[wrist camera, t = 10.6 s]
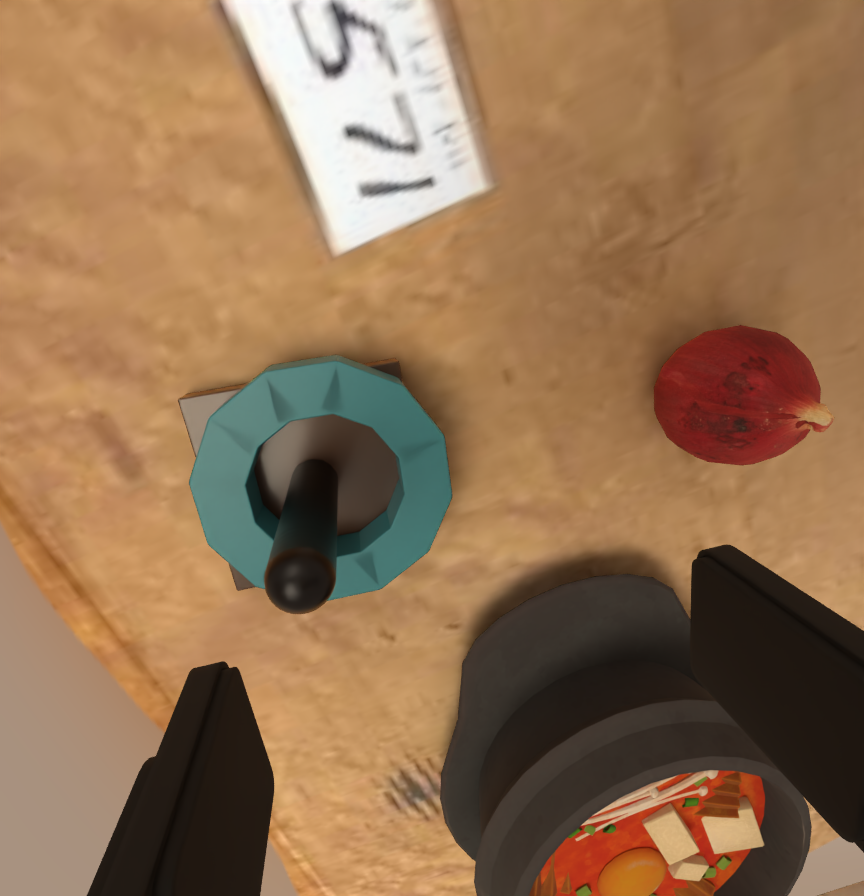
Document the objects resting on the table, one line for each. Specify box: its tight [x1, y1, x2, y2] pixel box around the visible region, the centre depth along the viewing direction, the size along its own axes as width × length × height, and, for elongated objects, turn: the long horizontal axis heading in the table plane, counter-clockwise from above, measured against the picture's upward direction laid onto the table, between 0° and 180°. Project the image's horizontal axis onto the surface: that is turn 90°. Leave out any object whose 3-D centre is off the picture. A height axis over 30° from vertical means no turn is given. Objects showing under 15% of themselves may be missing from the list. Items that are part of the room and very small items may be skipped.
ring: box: [189, 355, 452, 601], centre depth 21 cm, size 10×10×2 cm
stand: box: [178, 358, 402, 614], centre depth 18 cm, size 9×9×10 cm
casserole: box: [440, 574, 812, 896], centre depth 27 cm, size 25×19×8 cm
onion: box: [654, 325, 835, 465], centre depth 21 cm, size 6×6×8 cm
